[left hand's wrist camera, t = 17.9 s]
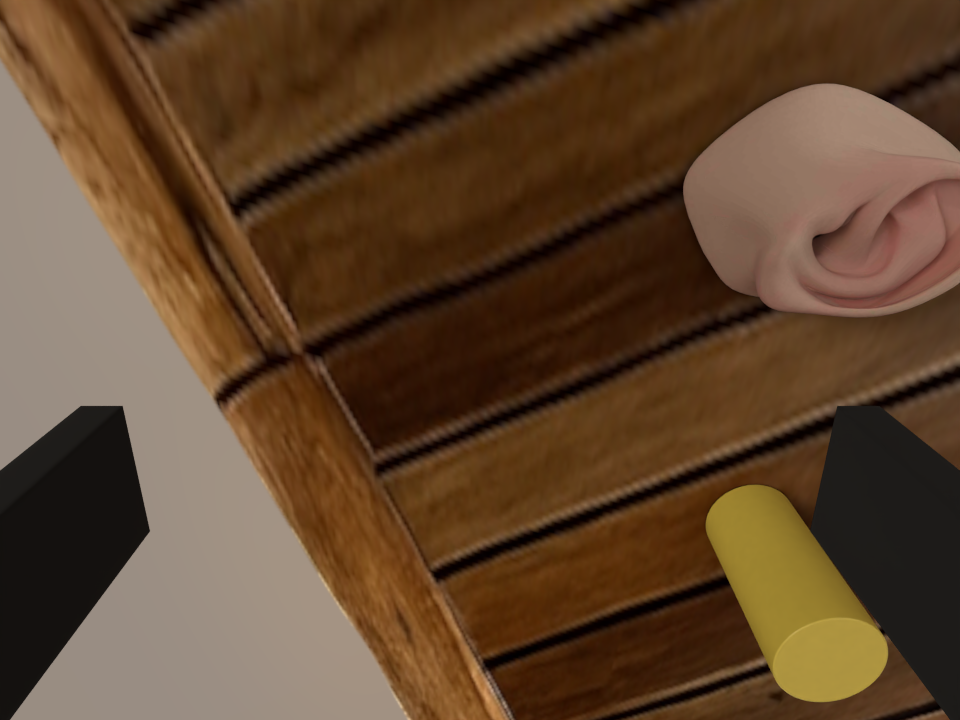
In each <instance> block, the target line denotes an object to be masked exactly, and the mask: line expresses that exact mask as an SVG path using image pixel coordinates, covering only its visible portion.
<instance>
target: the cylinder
mask: <svg viewBox="0 0 960 720" xmlns="http://www.w3.org/2000/svg"><path fill="white" fill-rule="evenodd" d="M706 532H707V535H708V538H709V540H710V542H711V544H712V546H713V548H714V550H715V553H716V555H717V557H718V559H719V561H720V563H721V565H722V567H723V570H724V572H725V574H726V576H727V578H728V580H729V582H730V584H731V587H732V589H733V591H734V593H735V595H736V597H737V599H738V601H739V604H740V606H741V608H742V610H743V612H744V614H745V616H746V618H747V621H748V623H749V625H750V627H751V629H752V631H753V633H754V635H755V638H756V640H757V642H758V644H759V646H760V648H761V650H762V652H763V655H764V657H765V659H766V661H767V663H768V665H769V667H770V669H771V672H772V674H773V676H774V678H775V680H776V682H777V683H778V685H779V686H780V687H781V688H782V689H783V690H784V691H785V692H787V693H788V694H790V695H792V696H794V697H796V698H799V699H801V700H806V701H812V702H830V701H836V700H840V699H844V698H847V697H850V696H852V695H854V694H857V693H859V692H860V691H862V690H864V689H865V688H867V687H868V686H869V685H871V684H872V683H873V682H874V681H875V680H876V679H877V678H878V677H879V675H880V674H881V673H882V671H883V669H884V667H885V665H886V662H887V658H888V647H887V642H886V640H885V638H884V636H883V635H882V633H881V632H880V630H879V629H878V627H877V626H876V625H875V623H874V622H873V620H872V619H871V617H870V616H869V615H868V613H867V612H866V610H865V609H864V607H863V606H862V605H861V603H860V602H859V600H858V599H857V597H856V596H855V595H854V593H853V592H852V590H851V589H850V587H849V586H848V585H847V583H846V582H845V580H844V579H843V577H842V576H841V575H840V573H839V572H838V570H837V569H836V567H835V566H834V565H833V563H832V562H831V560H830V559H829V557H828V556H827V555H826V553H825V552H824V550H823V549H822V547H821V546H820V545H819V543H818V542H817V540H816V539H815V537H814V536H813V534H812V533H811V532H810V530H809V529H808V527H807V526H806V524H805V523H804V522H803V520H802V519H801V517H800V516H799V514H798V513H797V512H796V510H795V509H794V507H793V506H792V504H791V503H790V502H789V500H788V499H787V498H786V496H785V495H784V494H782V493H781V492H780V491H778V490H776V489H774V488H771V487H768V486H764V485H746V486H742V487H738V488H735V489H733V490H731V491H729V492H727V493H725V494H724V495H723V496H721V497H720V498H719V499H718V500H717V501H716V502H715V503H714V504H713V506H712V507H711V509H710V511H709V513H708V516H707V519H706Z"/></svg>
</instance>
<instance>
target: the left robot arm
mask: <svg viewBox="0 0 960 720" xmlns="http://www.w3.org/2000/svg"><path fill="white" fill-rule="evenodd" d="M149 532H150V529H149V525H148V521H147V516H146V511H145V507H144V502H143V497H142V493H141V488H140V484H139V479H138V475H137V470H136V465H135V461H134V456H133V452H132V447H131V442H130V438H129V433H128V429H127V424H126V420H125V415H124V410H123V406H80V407H79V408H78V409H77V410H75V411H74V412H73V413H72V414H70V415H69V416H68V417H67V418H65V419H64V420H63V421H62V422H60V423H59V424H58V425H57V426H55V427H54V428H53V429H52V430H50V431H49V432H48V433H47V434H45V435H44V436H43V437H42V438H40V439H39V440H38V441H37V442H35V443H34V444H33V445H32V446H30V447H29V448H28V449H27V450H25V451H24V452H23V453H22V454H20V455H19V456H18V457H17V458H15V459H14V460H13V461H12V462H10V463H9V464H8V465H7V466H5V467H4V468H3V469H2V470H0V720H10V719H11V718H12V716H13V715H14V713H15V712H16V711H17V709H18V708H19V707H20V705H21V704H22V703H23V701H24V700H25V699H26V697H27V696H28V695H29V693H30V692H31V691H32V689H33V688H34V687H35V685H36V684H37V683H38V681H39V680H40V679H41V677H42V676H43V674H44V673H45V672H46V670H47V669H48V668H49V666H50V665H51V664H52V662H53V661H54V660H55V658H56V657H57V656H58V654H59V653H60V652H61V650H62V649H63V648H64V646H65V645H66V644H67V642H68V641H69V639H70V638H71V637H72V635H73V634H74V633H75V631H76V630H77V629H78V627H79V626H80V625H81V623H82V622H83V621H84V619H85V618H86V617H87V615H88V614H89V612H90V611H91V610H92V608H93V607H94V606H95V604H96V603H97V602H98V600H99V599H100V598H101V596H102V595H103V594H104V592H105V591H106V590H107V588H108V587H109V586H110V584H111V583H112V581H113V580H114V579H115V577H116V576H117V575H118V573H119V572H120V571H121V569H122V568H123V567H124V565H125V564H126V563H127V561H128V560H129V559H130V557H131V556H132V554H133V553H134V552H135V550H136V549H137V548H138V547H139V545H140V544H141V542H142V541H143V540H144V538H145V537H146V536H147V534H148V533H149ZM810 532H811V533H812V534H813V536H814V537H815V538H816V540H817V541H818V542H819V544H820V545H821V547H822V548H823V549H824V551H825V552H826V553H827V555H828V556H829V557H830V559H831V560H832V561H833V563H834V564H835V565H836V567H837V568H838V569H839V571H840V572H841V573H842V575H843V576H844V577H845V579H846V580H847V582H848V583H849V584H850V586H851V587H852V588H853V590H854V591H855V592H856V594H857V595H858V596H859V598H860V599H861V600H862V602H863V603H864V604H865V606H866V607H867V608H868V610H869V611H870V613H871V614H872V615H873V617H874V618H875V619H876V621H877V622H878V623H879V625H880V626H881V627H882V629H883V630H884V631H885V633H886V634H887V635H888V637H889V638H890V639H891V641H892V642H893V644H894V645H895V646H896V648H897V649H898V650H899V652H900V653H901V654H902V656H903V657H904V658H905V660H906V661H907V662H908V664H909V665H910V666H911V668H912V669H913V670H914V672H915V673H916V674H917V676H918V677H919V679H920V680H921V681H922V683H923V684H924V685H925V687H926V688H927V689H928V691H929V692H930V693H931V695H932V696H933V697H934V699H935V700H936V701H937V703H938V704H939V705H940V707H941V708H942V710H943V711H944V712H945V714H946V715H947V716H948V718H949V719H950V720H960V470H958V469H957V468H956V467H955V466H953V465H952V464H951V463H950V462H948V461H947V460H946V459H945V458H943V457H942V456H941V455H940V454H938V453H937V452H936V451H935V450H933V449H932V448H931V447H930V446H928V445H927V444H926V443H925V442H923V441H922V440H921V439H920V438H918V437H917V436H916V435H915V434H913V433H912V432H911V431H910V430H908V429H907V428H906V427H905V426H903V425H902V424H901V423H900V422H898V421H897V420H896V419H895V418H893V417H892V416H891V415H890V414H888V413H887V412H886V411H885V410H883V409H882V408H881V407H880V406H837V410H836V415H835V419H834V424H833V429H832V433H831V438H830V442H829V447H828V452H827V456H826V461H825V465H824V470H823V474H822V479H821V484H820V488H819V493H818V497H817V502H816V506H815V511H814V516H813V520H812V525H811V529H810Z"/></svg>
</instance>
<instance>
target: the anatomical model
mask: <svg viewBox="0 0 960 720" xmlns="http://www.w3.org/2000/svg"><path fill="white" fill-rule="evenodd" d="M683 195H684V202H685V205H686V209H687V213H688V216H689V219H690V221H691V224H692V226H693V229H694V231H695V234H696V236H697V239H698V241H699V244H700V246H701V248H702V250H703V252H704V254H705V256H706V257H707V259H708V260H709V262H710V263H711V265H712V267H713V268H714V270H715V271H716V273H717V274H718V276H719V277H720V279H721V280H722V281H723V282H724V283H725V284H726V285H727V286H729V287H730V288H732V289H733V290H735V291H738V292H740V293H743V294H747V295H751V296H756V297H760V299H761V300H762V301H763V302H764V303H765V304H766V305H767V306H769V307H770V308H772V309H775V310H778V311H784V312H793V313H807V314H818V315H828V316H837V317H856V318H857V317H876V316H883V315H889V314H894V313H898V312H901V311H904V310H907V309H910V308H913V307H915V306H918V305H920V304H922V303H924V302H927V301H929V300H931V299H933V298H935V297H937V296H939V295H941V294H942V293H944V292H946V291H948V290H950V289H951V288H953V287H954V286H956V285H957V284H959V283H960V152H959V151H958V150H957V149H956V148H955V147H954V146H953V145H952V144H951V143H950V142H948V141H947V140H946V139H945V138H943V137H942V136H941V135H939V134H938V133H937V132H935V131H934V130H933V129H931V128H930V127H928V126H927V125H925V124H924V123H922V122H920V121H919V120H917V119H915V118H914V117H912V116H911V115H909V114H907V113H906V112H904V111H902V110H900V109H898V108H897V107H895V106H893V105H891V104H890V103H888V102H886V101H884V100H882V99H879V98H877V97H875V96H873V95H871V94H868V93H866V92H863V91H861V90H858V89H855V88H851V87H848V86H844V85H838V84H815V85H810V86H806V87H801V88H799V89H796V90H793V91H790V92H788V93H786V94H784V95H782V96H779V97H777V98H775V99H773V100H771V101H769V102H768V103H766V104H764V105H763V106H761V107H760V108H758V109H756V110H755V111H753V112H752V113H750V114H749V115H747V116H746V117H745V118H743V119H742V120H740V121H739V122H738V123H736V124H735V125H733V126H732V127H731V128H730V129H729V130H727V131H726V132H725V133H724V134H722V135H721V136H720V137H719V138H717V139H716V140H715V141H714V142H713V143H712V144H711V145H710V146H709V147H708V148H707V149H706V150H705V151H703V152H702V154H701V155H700V156H699V157H698V158H697V159H696V160H695V162H694V163H693V165H692V166H691V167H690V169H689V171H688V173H687V175H686V177H685V181H684V186H683Z"/></svg>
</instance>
